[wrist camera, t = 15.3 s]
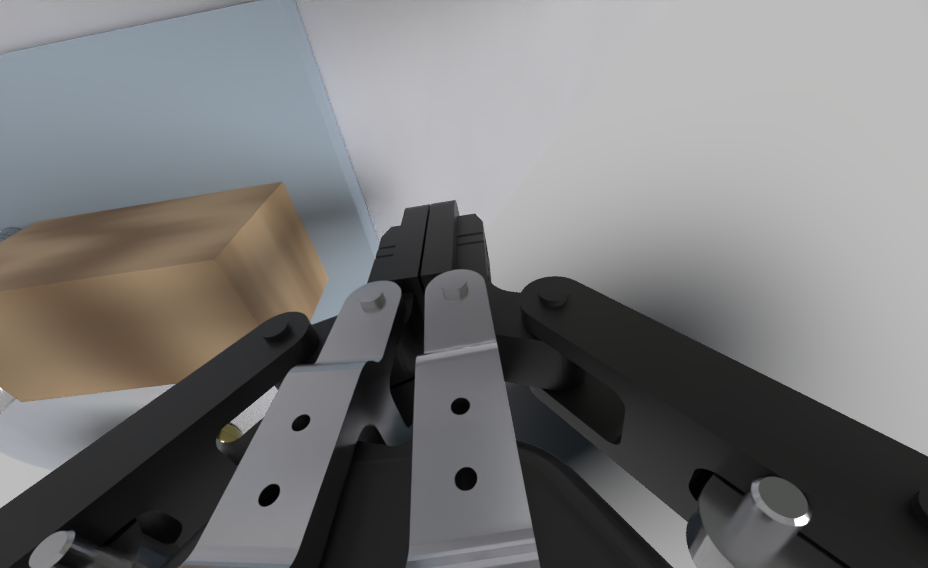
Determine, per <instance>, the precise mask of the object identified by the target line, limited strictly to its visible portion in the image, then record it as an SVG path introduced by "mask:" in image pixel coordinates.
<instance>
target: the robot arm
mask: <svg viewBox="0 0 928 568" xmlns="http://www.w3.org/2000/svg"><path fill="white" fill-rule="evenodd" d="M378 249H379V250H377V253H376V259H375V260H374V263H373V266H372V269H371V272H370V276H369V279H368V282H367V284H365V285H363V286H361V287H359V288H357V289H356V290H354V291H353V292H352V293H351V294H350V295H349V296H348V297H347V298H346V300H345V302H344V304H343V306H342V308H341V310H340V312H339V314H338V315H337V316H334V317H332V318H329V319H326V320H323V321H321V322H318V323H315V324H311V322H310V321H309V319H308V317H307V316H306V315H305V314H303V313H301V312H286V313H282V314H279V315H276V316H274V317H272V318H270V319H268V320H266V321H265V322H263V323H262V324H260V325H259V326H258V327H256V328H255V329H253V330H252V331H251V332H249V333H248V334H246V335H245V336H243V337H242V338H241V339H239V340H238V341H236V342H235V343H234V344H232V345H231V346H229V347H228V348H227V349H225V350H224V351H222V352H221V353H219V354H218V355H217V356H215V357H214V358H212V359H211V360H210V361H208V362H207V363H205V364H204V365H202V366H201V367H200V368H198V369H197V370H195V371H194V372H193V373H191V374H190V375H188V376H187V377H185V378H184V379H183V380H181V381H180V382H178V383H177V384H176V385H174V386H173V387H171V388H170V389H169V390H167V391H166V392H164V393H163V394H161V395H160V396H159V397H157V398H156V399H154V400H153V401H152V402H150V403H149V404H147V405H146V406H144V407H143V408H142V409H140V410H139V411H137V412H136V413H135V414H133V415H132V416H130V417H129V418H128V419H126V420H125V421H123V422H122V423H120V424H119V425H118V426H116V427H115V428H113V429H112V430H111V431H109V432H108V433H106V434H105V435H103V436H102V437H101V438H99V439H98V440H96V441H95V442H94V443H92V444H91V445H89V446H88V447H87V448H85V449H84V450H82V451H81V452H79V453H78V454H77V455H75V456H74V457H72V458H71V459H70V460H68V461H67V462H65V463H64V464H62V465H61V466H60V467H58V468H57V469H55V470H54V471H53V472H51V473H50V474H48V475H47V476H45V477H44V478H43V479H42V480H40V481H39V482H37V483H36V484H34V485H33V486H31V487H30V488H29V489H27V490H26V491H24V492H23V493H21V494H20V495H19V496H17V497H16V498H14V499H13V500H12V501H10V502H9V503H8V504H6V505H5V506H3V507H2V508H0V568H673V567H672V566H671V565H670V564H669V563H668V562H667V561H666V560H665V559H664V558H663V557H662V556H661V555H659V553H658V552H657V551H656V550H655V549H654V548H652V547H651V546H650V544H649V543H647V542H646V541H645V540H644V539H643V538H642V537H641V536H640V535H639V534H638V533H637V532H636V531H635V530H634V529H633V528H632V527H631V526H630V525H629V524H628V523H627V522H626V521H625V520H624V519H623V518H622V517H621V516H620V515H619V514H618V513H617V512H616V511H615V510H614V509H613V508H612V507H611V506H610V505H609V504H608V503H607V502H606V501H605V500H604V499H602V497H601V496H600V495H599V494H598V493H597V492H596V491H595V490H594V489H592V488H591V487H590V486H589V485H588V484H587V483H586V482H585V481H584V480H583V479H582V478H581V477H580V476H579V475H578V474H577V473H576V472H575V471H574V470H573V469H572V468H570V467H569V466H568V465H567V464H565V463H564V462H563V461H561V460H560V459H559V458H557V457H556V456H554V455H552V454H551V453H549V452H547V451H545V450H543V449H541V448H539V447H536V446H534V445H532V444H528V443H525V442H522V441H518V440H516V439H515V434H514V429H513V424H512V419H511V414H510V408H509V403H508V398H507V393H506V388H505V383H504V381H506V382H511V383H516V384H522V385H527V386H530V388H531V391H532V392H533V393H534V395H535V396H536V397H537V398H538V399H540V400H541V401H542V402H543V403H544V404H546V405H547V406H548V407H549V408H551V409H552V410H553V411H554V412H555V413H557V414H558V415H559V416H560V417H561V418H563V419H564V420H565V421H566V422H567V423H569V424H570V425H571V426H572V427H573V428H575V429H576V430H577V431H578V432H579V433H581V434H582V435H583V436H584V437H586V438H587V439H588V440H589V441H590V442H592V443H593V444H594V445H595V446H596V447H598V448H599V449H600V450H601V451H602V452H604V453H605V454H606V455H607V456H609V457H610V458H611V459H612V460H613V461H615V462H616V463H617V464H618V465H619V466H621V467H622V468H623V469H624V470H625V471H627V472H628V473H629V474H630V475H631V476H633V477H634V478H635V479H636V480H638V481H639V482H640V483H641V484H642V485H644V486H645V487H646V488H647V489H648V490H650V491H651V492H652V493H653V494H655V495H656V496H657V497H658V498H659V499H661V500H662V501H663V502H664V503H665V504H667V505H668V506H669V507H670V508H672V509H673V510H674V511H675V512H676V513H677V514H679V515H680V516H681V517H682V518H684V519H685V520H686V521H687V522H688V523H687V527H686V541H687V545H688V549H689V552H690V555H691V557H692V560H693V562H694V563H695V565H696V567H697V568H928V456H926V455H924V454H922V453H919V452H918V451H916V450H914V449H912V448H910V447H908V446H906V445H903V444H902V443H900V442H898V441H896V440H894V439H892V438H890V437H888V436H885V435H884V434H882V433H880V432H878V431H875V430H873V429H872V428H870V427H867V426H866V425H864V424H861V423H860V422H857V421H856V420H854V419H851V418H849V417H848V416H846V415H844V414H842V413H840V412H838V411H836V410H834V409H831V408H830V407H828V406H826V405H824V404H821V403H819V402H817V401H815V400H813V399H812V398H809V397H808V396H805V395H803V394H801V393H800V392H797V391H795V390H793V389H791V388H789V387H787V386H785V385H783V384H781V383H779V382H777V381H775V380H773V379H771V378H769V377H767V376H765V375H763V374H761V373H759V372H757V371H755V370H753V369H751V368H749V367H747V366H745V365H743V364H741V363H739V362H737V361H735V360H733V359H731V358H729V357H727V356H725V355H723V354H721V353H719V352H717V351H715V350H713V349H711V348H709V347H707V346H705V345H703V344H701V343H699V342H697V341H695V340H693V339H691V338H689V337H687V336H685V335H683V334H681V333H679V332H677V331H675V330H673V329H671V328H669V327H667V326H665V325H663V324H661V323H659V322H657V321H655V320H653V319H651V318H649V317H647V316H645V315H643V314H641V313H639V312H637V311H635V310H633V309H631V308H629V307H627V306H625V305H623V304H621V303H619V302H617V301H615V300H613V299H611V298H609V297H607V296H605V295H603V294H601V293H599V292H597V291H595V290H593V289H591V288H589V287H587V286H585V285H583V284H581V283H579V282H577V281H575V280H572V279H569V278H566V277H557V276H555V277H554V276H553V277H545V278H541V279H538V280H535V281H533V282H531V283H530V284H528V285H527V286H526V287H525V288H524V289H523V290H522V292H521V293H518V292H509V291H505V290H502V289H499V288H497V287H496V286H494V285H493V284H492V283H491V275H490V264H489V257H488V252H487V245H486V239H485V233H484V227H483V221H482V220H481V219H480V218H479V217H478V216H477V215H476V214H470V215H463V216H459V211H458V207H457V203H456V200H453V201H447V202H441V203H435V204H431V205H430V204H429V205H423V206H417V207H411V208H406V209H405V211H404V215H403V219H402V223H401V226H395V227H391V228H390V229H389V230H388V231H387V232H386V233H385V234H384V235H383V236H382V238H381V241H380V244H379V247H378ZM274 385H275V387H276V388H277V389H278V392H277V393H276V395H275V397H274V399H273V401H272V403H271V405H270V407H269V409H268V411H267V412H266V414H265V416H264V417H263V418H262V419H261V420H260V421H259V422H258V423H256V424H255V425H254V426H253V427H252V428H251V429H249V430H248V431H247V432H246V433H245V434H244V435H242V436H241V437H240V438H238V439H237V440H235V441H232V442H227V443H225V442H221V441H219V440H218V439H217V436H218V434H219V433H220V431H221V430H222V429H223V428H224V427H225V426H226V425H227V424H228V423H229V422H231V421H232V420H233V419H234V418H235V417H237V416H238V415H239V414H240V413H241V412H243V411H244V410H245V409H246V408H248V407H249V406H250V405H251V404H252V403H254V402H255V401H256V400H257V399H259V398H260V397H261V396H262V395H263V394H265V393H266V392H267V391H268V390H269V389H271V388H272V387H273V386H274Z"/></svg>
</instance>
